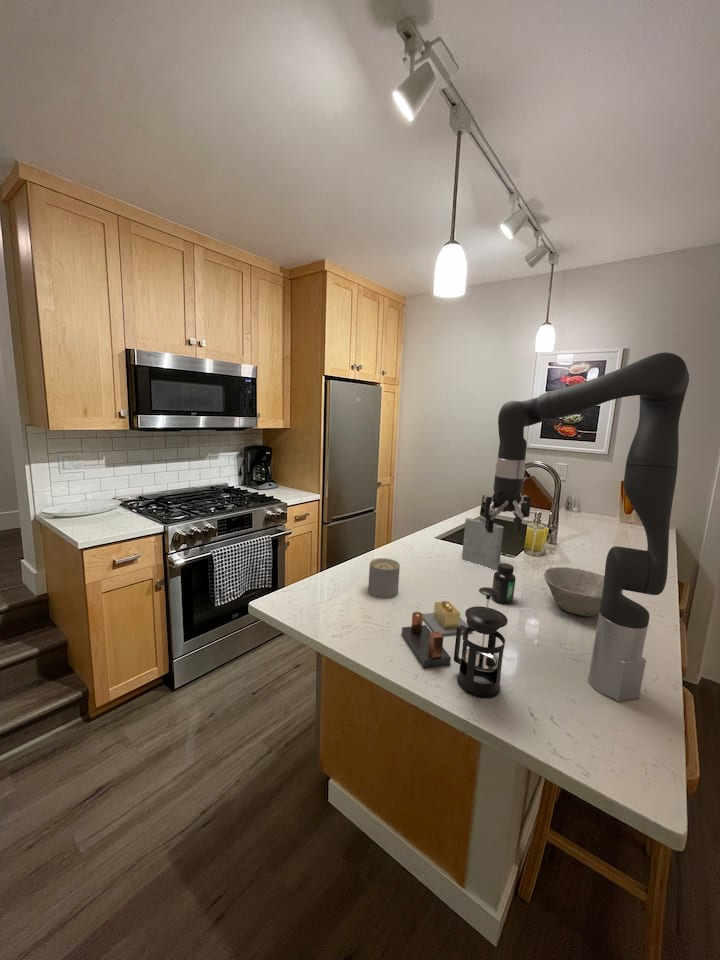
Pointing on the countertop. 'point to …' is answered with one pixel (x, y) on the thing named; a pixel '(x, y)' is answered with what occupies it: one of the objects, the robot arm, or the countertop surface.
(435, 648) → the hand plane
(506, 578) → the supplement bottle
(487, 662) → the french press
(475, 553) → the notched spreader
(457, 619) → the lever cap
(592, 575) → the ceramic bowl
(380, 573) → the coffee mug
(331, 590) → the countertop surface
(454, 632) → the rubber mat
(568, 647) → the countertop surface
